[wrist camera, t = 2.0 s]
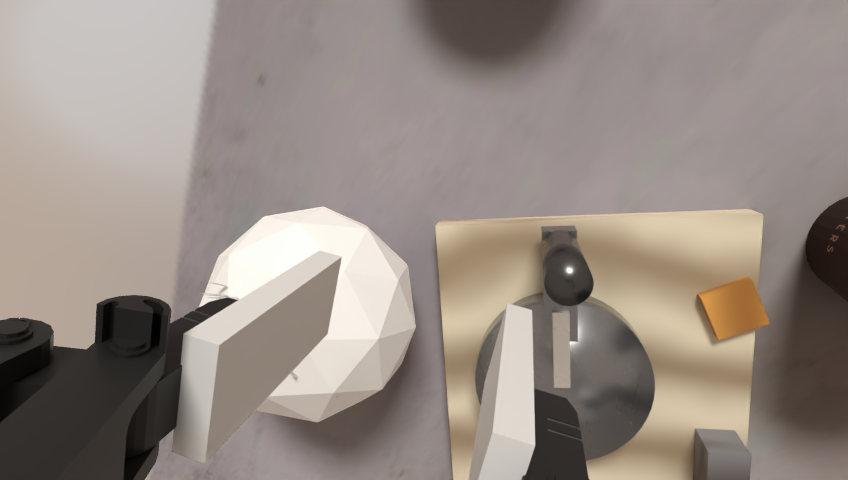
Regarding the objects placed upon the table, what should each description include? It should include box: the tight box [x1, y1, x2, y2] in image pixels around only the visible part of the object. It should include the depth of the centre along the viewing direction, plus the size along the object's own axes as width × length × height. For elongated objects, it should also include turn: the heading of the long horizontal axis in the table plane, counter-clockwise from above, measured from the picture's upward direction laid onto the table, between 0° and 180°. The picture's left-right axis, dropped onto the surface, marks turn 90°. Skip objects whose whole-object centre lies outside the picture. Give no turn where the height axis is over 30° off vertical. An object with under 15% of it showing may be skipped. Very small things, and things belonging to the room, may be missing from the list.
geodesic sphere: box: [199, 207, 416, 422], centre depth 32 cm, size 14×14×14 cm
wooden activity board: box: [435, 209, 770, 480], centre depth 33 cm, size 20×20×6 cm
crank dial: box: [475, 225, 655, 461], centre depth 29 cm, size 16×11×9 cm
